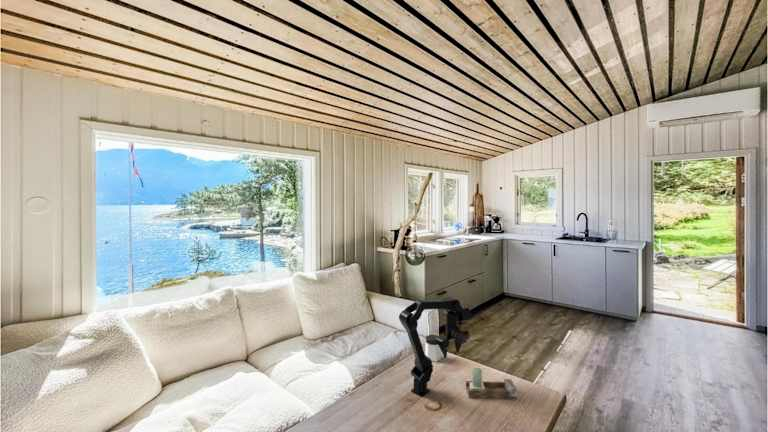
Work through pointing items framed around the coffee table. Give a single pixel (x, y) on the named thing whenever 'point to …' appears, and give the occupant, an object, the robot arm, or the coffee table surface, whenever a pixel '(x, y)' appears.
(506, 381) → the brown wooden open box
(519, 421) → the coffee table surface
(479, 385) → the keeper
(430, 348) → the jar
